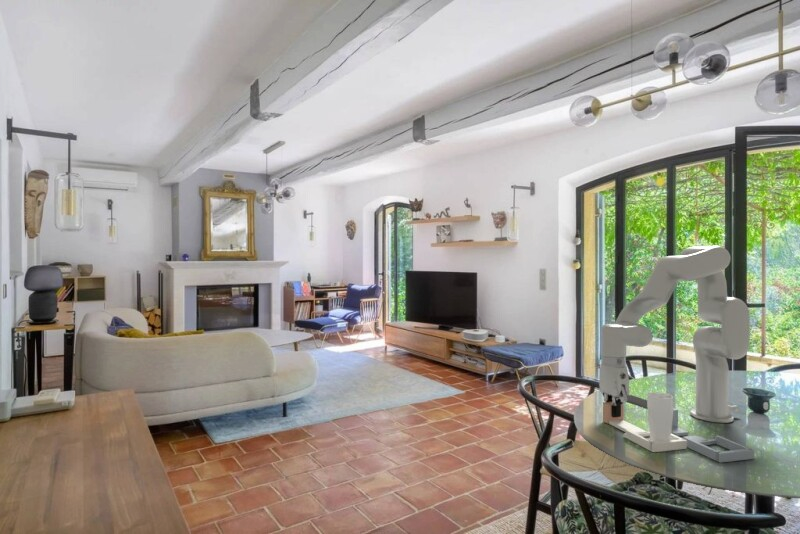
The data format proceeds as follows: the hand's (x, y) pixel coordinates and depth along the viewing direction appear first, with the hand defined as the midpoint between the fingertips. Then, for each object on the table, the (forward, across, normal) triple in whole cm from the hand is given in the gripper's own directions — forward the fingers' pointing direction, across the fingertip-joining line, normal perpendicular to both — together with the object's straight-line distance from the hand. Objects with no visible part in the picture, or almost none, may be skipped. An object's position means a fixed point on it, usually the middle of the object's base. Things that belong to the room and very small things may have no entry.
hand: (613, 414), depth 161 cm
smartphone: (+3, +17, -25) cm, 30 cm away
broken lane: (+2, -22, -13) cm, 25 cm away
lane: (+2, -12, 0) cm, 12 cm away
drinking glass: (+3, -21, 0) cm, 21 cm away
